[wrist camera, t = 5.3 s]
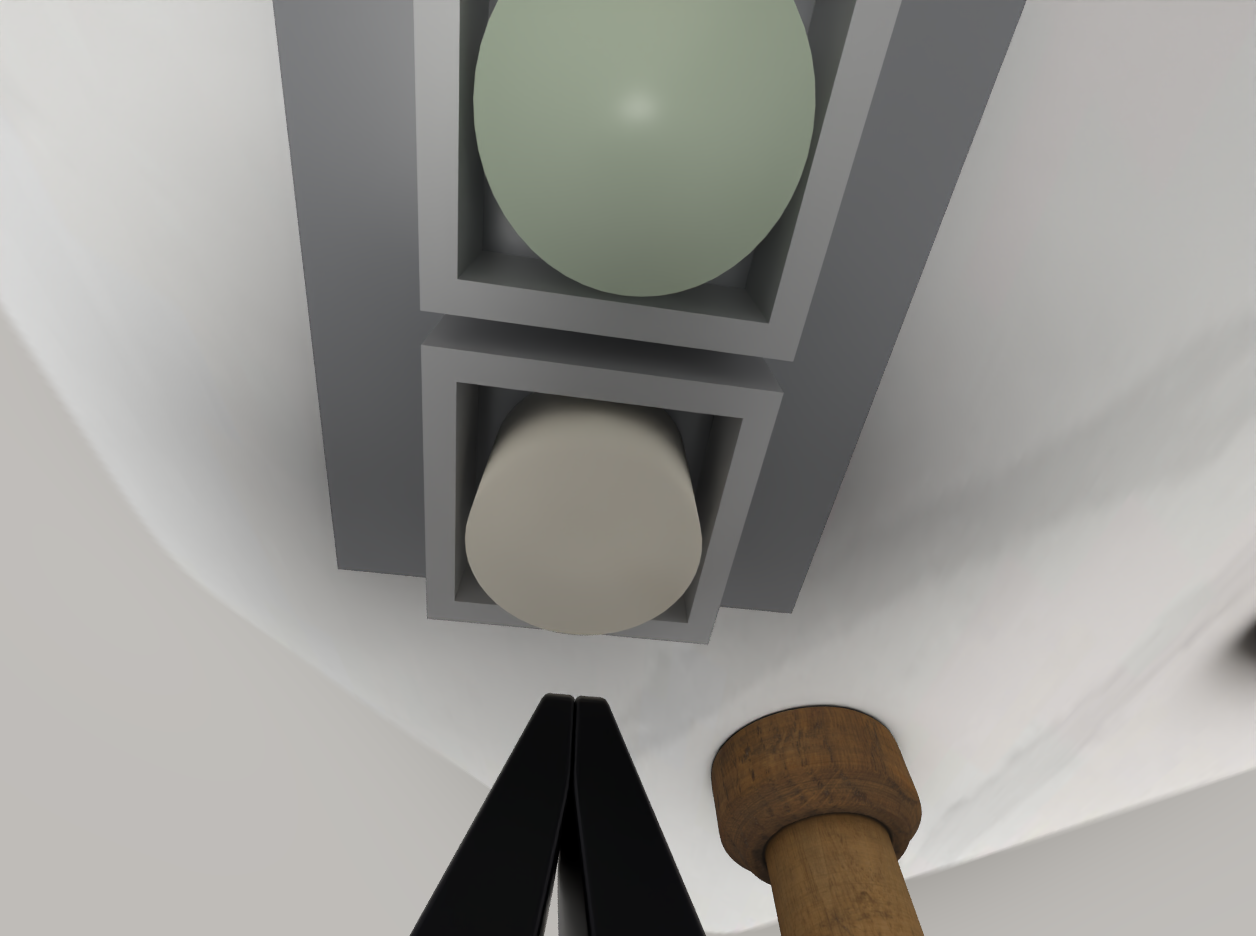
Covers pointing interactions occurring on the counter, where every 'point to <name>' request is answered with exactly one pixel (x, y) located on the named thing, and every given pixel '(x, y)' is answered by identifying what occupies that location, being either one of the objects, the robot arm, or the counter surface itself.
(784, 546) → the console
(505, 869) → the robot arm
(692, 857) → the counter surface
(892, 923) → the mortar and pestle
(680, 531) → the button cream
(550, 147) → the button sage
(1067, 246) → the counter surface
